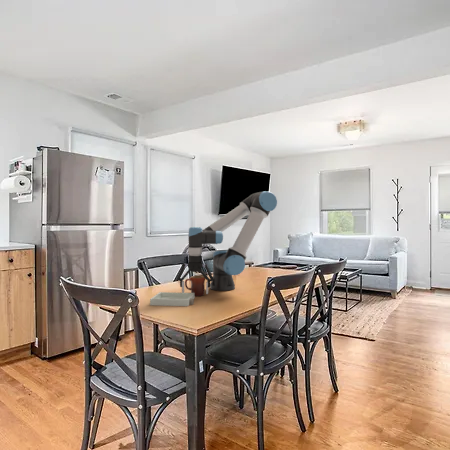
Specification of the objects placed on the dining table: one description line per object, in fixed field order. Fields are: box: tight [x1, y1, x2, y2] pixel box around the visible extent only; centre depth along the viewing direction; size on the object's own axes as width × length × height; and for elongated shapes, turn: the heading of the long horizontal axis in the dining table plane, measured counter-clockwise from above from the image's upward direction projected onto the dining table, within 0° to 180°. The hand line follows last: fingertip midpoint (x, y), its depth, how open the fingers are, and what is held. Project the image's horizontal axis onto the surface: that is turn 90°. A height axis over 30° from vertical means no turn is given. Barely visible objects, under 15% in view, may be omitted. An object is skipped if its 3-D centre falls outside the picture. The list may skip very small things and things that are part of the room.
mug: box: [184, 275, 206, 297], centre depth 197 cm, size 12×9×10 cm
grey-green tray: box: [149, 291, 196, 307], centre depth 182 cm, size 21×17×3 cm
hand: (195, 293), depth 197 cm, fingers open, 13 cm apart
